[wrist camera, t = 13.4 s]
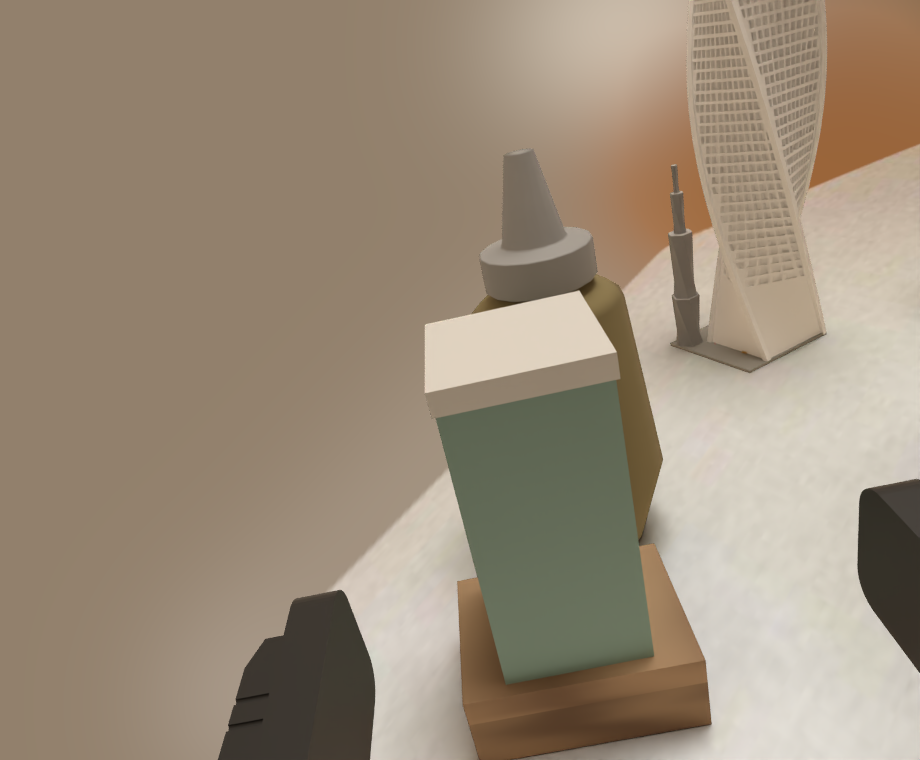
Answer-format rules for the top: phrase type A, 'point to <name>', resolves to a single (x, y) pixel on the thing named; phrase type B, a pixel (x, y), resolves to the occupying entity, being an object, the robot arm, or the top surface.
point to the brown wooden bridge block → (583, 683)
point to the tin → (542, 482)
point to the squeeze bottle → (564, 271)
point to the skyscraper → (752, 176)
